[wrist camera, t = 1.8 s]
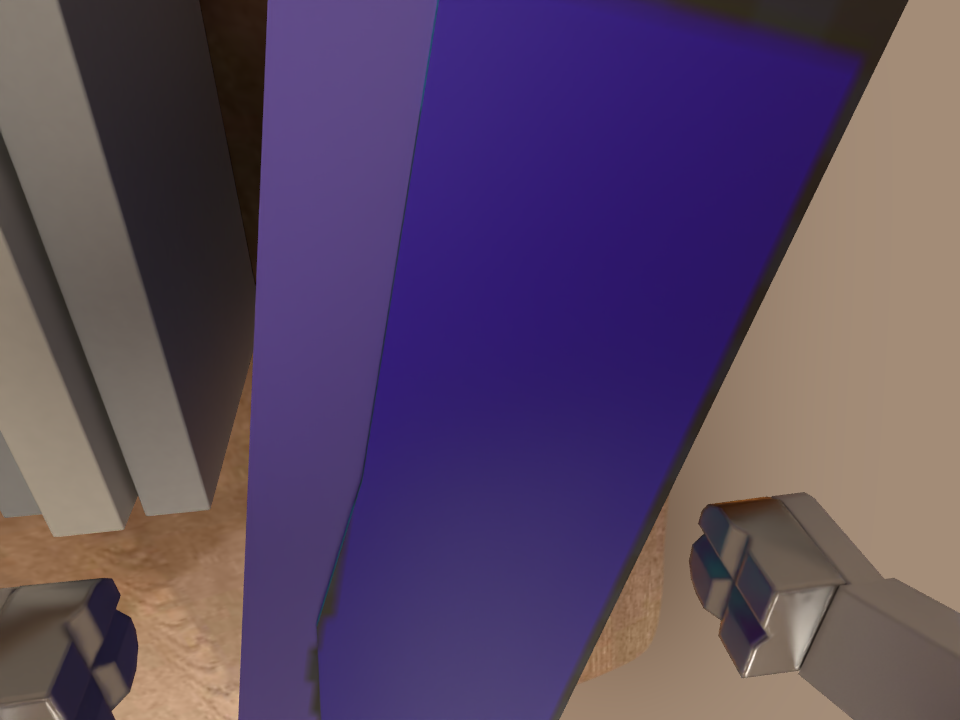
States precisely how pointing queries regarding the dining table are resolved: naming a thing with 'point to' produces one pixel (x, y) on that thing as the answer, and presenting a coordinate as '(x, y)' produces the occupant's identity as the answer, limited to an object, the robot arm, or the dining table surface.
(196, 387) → the grey books
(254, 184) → the dining table surface
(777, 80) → the cereal box
